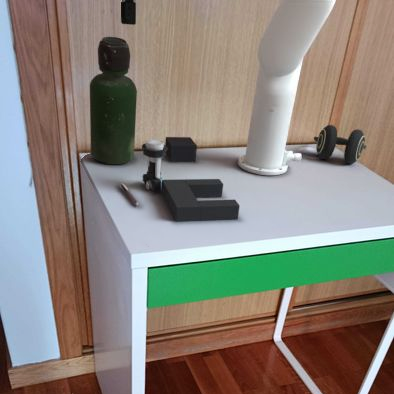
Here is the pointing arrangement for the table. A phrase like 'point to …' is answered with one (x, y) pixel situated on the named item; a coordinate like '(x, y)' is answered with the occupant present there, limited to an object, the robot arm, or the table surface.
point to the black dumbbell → (330, 139)
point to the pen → (129, 194)
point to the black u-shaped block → (198, 209)
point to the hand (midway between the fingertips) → (125, 20)
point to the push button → (153, 164)
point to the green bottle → (113, 104)
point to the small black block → (180, 149)
